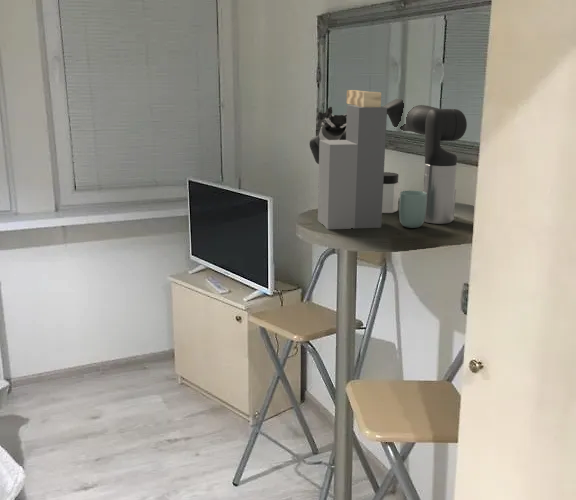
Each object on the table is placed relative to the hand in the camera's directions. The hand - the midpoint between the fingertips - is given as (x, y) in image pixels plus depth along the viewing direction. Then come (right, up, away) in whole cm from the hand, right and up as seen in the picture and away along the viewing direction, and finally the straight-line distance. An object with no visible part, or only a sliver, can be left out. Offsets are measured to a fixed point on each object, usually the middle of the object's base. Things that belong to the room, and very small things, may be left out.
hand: (343, 109), depth 207 cm
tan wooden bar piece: (+3, -2, -17) cm, 17 cm away
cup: (+18, -38, -17) cm, 45 cm away
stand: (0, -37, -14) cm, 39 cm away
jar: (+13, -32, +5) cm, 35 cm away
